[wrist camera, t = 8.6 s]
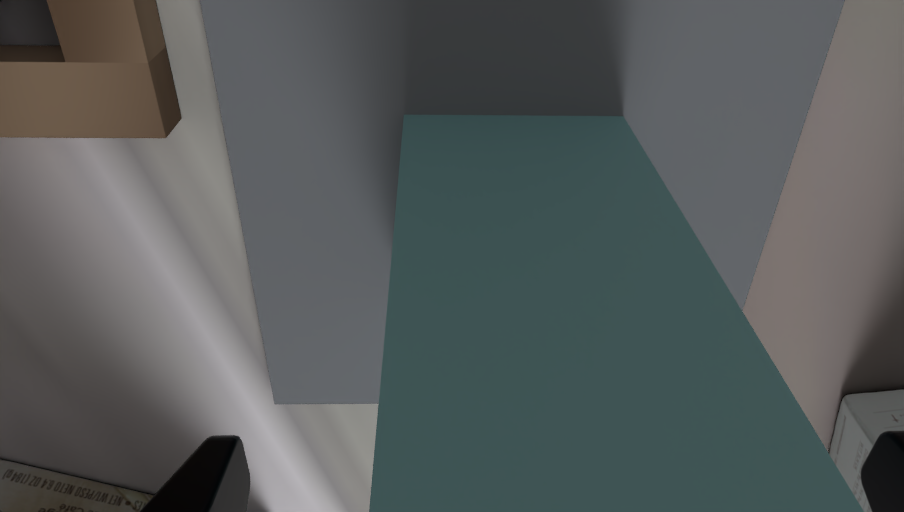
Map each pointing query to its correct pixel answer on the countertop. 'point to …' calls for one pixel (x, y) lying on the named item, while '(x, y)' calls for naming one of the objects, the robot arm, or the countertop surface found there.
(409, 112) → the charcoal mat
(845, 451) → the supplement box
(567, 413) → the teal post
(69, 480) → the coffee box
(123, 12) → the walnut stand
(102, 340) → the countertop surface
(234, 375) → the countertop surface
